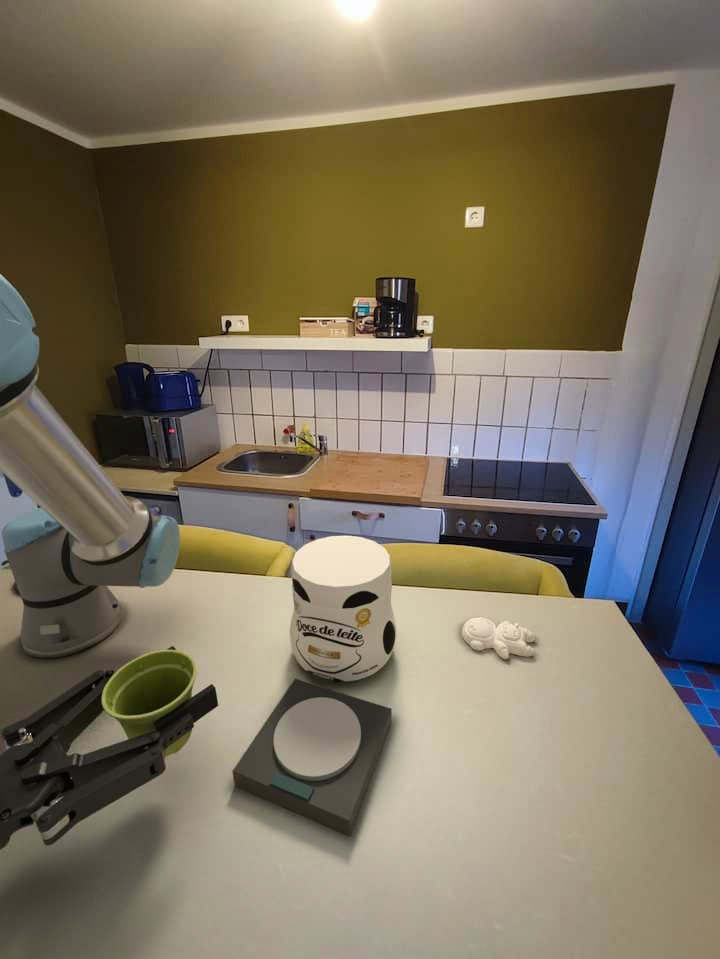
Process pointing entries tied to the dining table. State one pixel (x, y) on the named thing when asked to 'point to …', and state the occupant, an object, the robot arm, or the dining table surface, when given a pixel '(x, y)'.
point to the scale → (316, 754)
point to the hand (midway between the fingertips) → (194, 674)
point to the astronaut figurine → (498, 637)
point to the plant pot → (150, 692)
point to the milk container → (342, 608)
